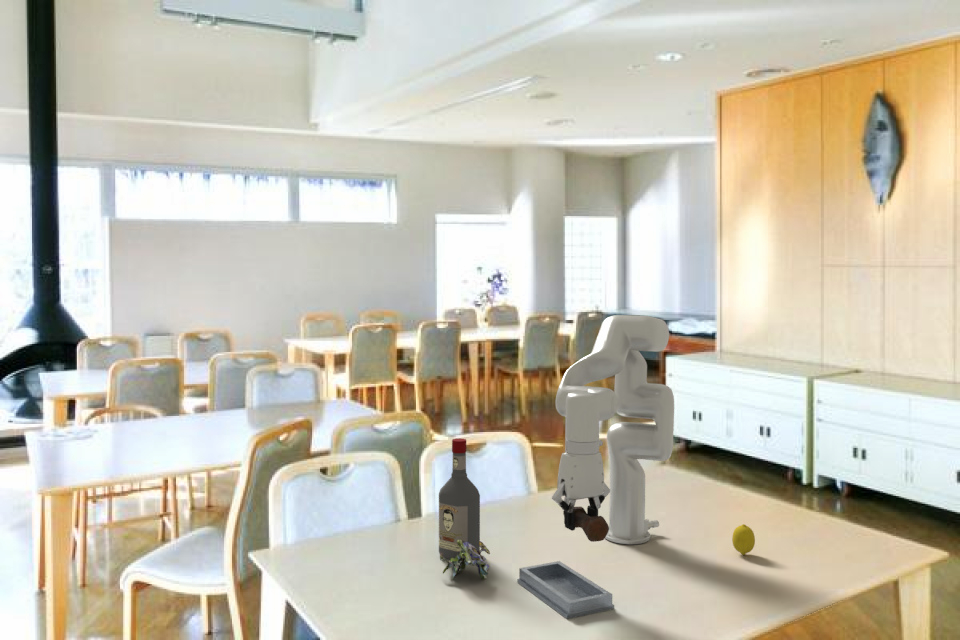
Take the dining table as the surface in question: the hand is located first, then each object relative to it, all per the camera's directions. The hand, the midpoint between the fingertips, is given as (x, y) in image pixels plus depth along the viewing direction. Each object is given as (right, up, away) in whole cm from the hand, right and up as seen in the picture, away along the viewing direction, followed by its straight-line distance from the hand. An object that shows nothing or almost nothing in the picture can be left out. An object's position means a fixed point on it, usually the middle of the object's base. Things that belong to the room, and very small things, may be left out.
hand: (581, 526), depth 185 cm
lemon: (+45, -14, +26) cm, 54 cm away
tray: (-4, -16, +1) cm, 16 cm away
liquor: (-28, -14, +26) cm, 41 cm away
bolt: (0, -1, 0) cm, 1 cm away
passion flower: (-26, -15, +10) cm, 32 cm away
